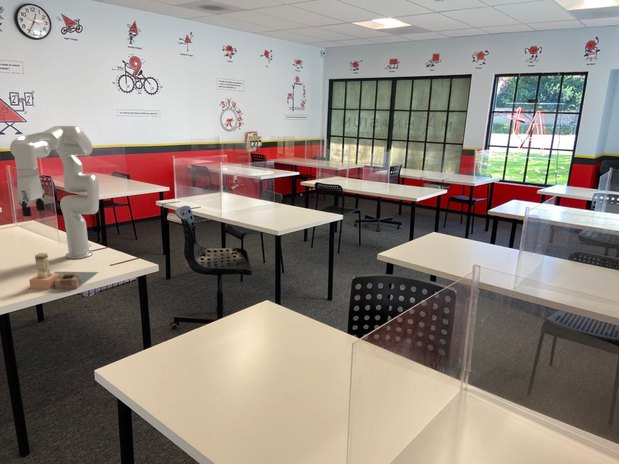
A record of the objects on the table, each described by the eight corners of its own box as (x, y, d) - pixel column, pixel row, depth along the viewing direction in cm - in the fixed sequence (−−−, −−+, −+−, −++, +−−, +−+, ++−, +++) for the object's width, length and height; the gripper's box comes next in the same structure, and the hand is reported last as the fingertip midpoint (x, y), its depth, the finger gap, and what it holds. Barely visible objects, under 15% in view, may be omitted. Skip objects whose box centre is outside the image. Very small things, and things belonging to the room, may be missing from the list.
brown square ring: (61, 283, 194) (59, 274, 193) (81, 281, 196) (80, 273, 195) (56, 290, 187) (54, 281, 186) (77, 288, 189) (75, 279, 188)
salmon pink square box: (41, 281, 196) (40, 273, 195) (60, 282, 196) (58, 273, 195) (30, 288, 188) (29, 279, 187) (49, 289, 188) (48, 280, 187)
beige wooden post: (44, 283, 193) (39, 253, 190) (51, 284, 193) (47, 253, 190) (39, 286, 190) (34, 255, 186) (47, 286, 190) (42, 255, 186)
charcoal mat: (55, 272, 208) (55, 271, 208) (98, 273, 208) (98, 272, 208) (28, 289, 188) (28, 288, 188) (76, 290, 188) (75, 289, 188)
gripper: (31, 169, 191) (37, 208, 196) (5, 175, 175) (12, 218, 179) (48, 169, 191) (54, 208, 196) (24, 176, 175) (31, 218, 180)
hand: (34, 213), depth 188 cm, fingers open, 9 cm apart
